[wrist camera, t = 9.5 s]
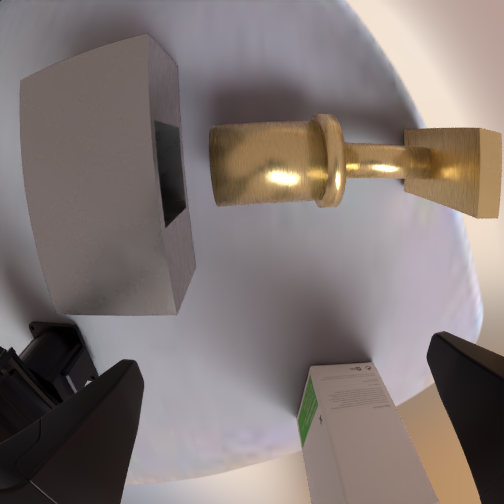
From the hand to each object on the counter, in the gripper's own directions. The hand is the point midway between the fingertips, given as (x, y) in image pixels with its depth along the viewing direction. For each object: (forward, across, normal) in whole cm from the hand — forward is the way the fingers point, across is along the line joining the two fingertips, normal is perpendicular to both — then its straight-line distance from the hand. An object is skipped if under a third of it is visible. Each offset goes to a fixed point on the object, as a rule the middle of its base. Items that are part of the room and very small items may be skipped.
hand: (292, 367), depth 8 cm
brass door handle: (+13, -5, -5) cm, 14 cm away
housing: (+13, +9, -5) cm, 17 cm away
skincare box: (+13, -6, +16) cm, 22 cm away
